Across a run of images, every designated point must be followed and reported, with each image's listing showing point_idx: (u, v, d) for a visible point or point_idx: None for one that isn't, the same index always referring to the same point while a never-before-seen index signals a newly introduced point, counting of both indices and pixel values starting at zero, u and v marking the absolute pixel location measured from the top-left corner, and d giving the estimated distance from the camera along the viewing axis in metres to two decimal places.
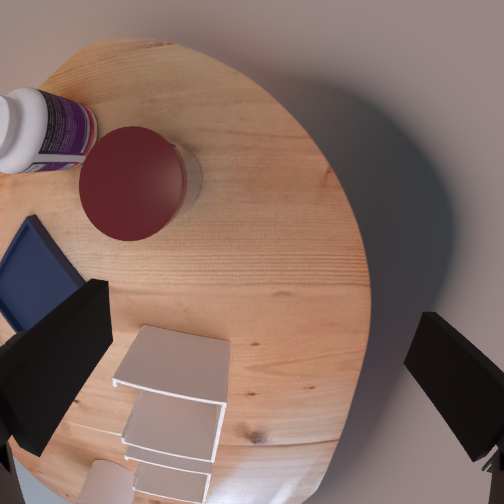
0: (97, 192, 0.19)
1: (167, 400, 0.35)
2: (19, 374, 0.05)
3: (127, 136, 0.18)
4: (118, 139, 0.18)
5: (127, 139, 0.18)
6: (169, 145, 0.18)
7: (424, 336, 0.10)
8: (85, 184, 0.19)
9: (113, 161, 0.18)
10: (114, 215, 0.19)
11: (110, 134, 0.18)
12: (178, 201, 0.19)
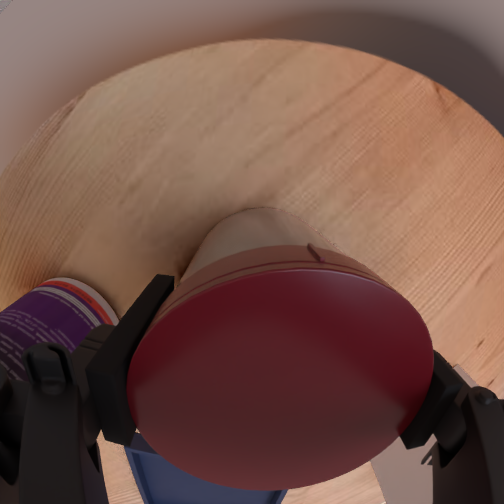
0: (234, 463, 0.07)
1: None
2: (124, 364, 0.06)
3: (185, 343, 0.06)
4: (170, 364, 0.06)
5: (193, 349, 0.06)
6: (332, 272, 0.05)
7: None
8: (194, 465, 0.07)
9: (211, 410, 0.06)
10: (306, 465, 0.07)
11: (137, 366, 0.06)
12: (432, 355, 0.06)
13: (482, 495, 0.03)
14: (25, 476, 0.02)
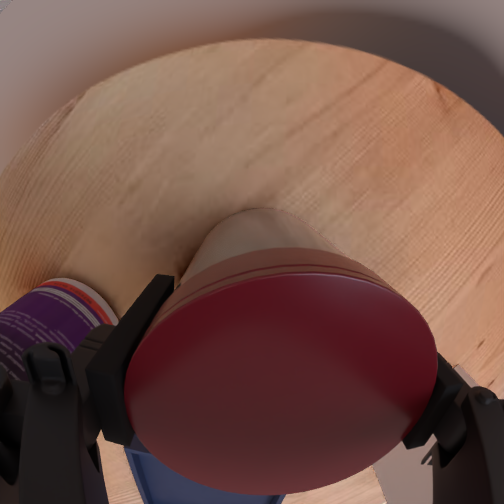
0: (357, 445, 0.07)
1: None
2: (124, 364, 0.06)
3: (205, 475, 0.07)
4: (226, 481, 0.07)
5: (209, 472, 0.07)
6: (128, 413, 0.06)
7: None
8: (358, 464, 0.07)
9: (271, 467, 0.07)
10: (382, 391, 0.06)
11: (234, 491, 0.07)
12: (197, 300, 0.05)
13: (482, 495, 0.03)
14: (25, 476, 0.02)
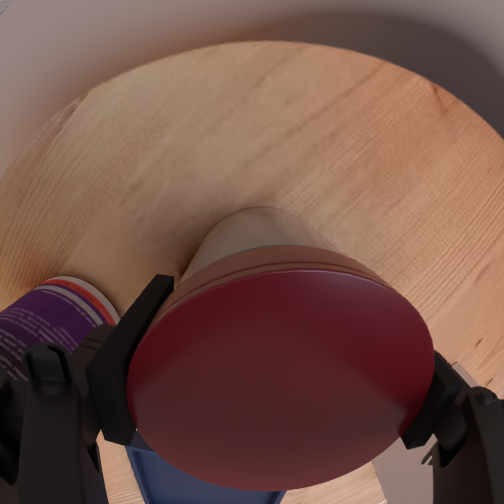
0: (346, 351, 0.06)
1: None
2: (124, 364, 0.06)
3: (365, 453, 0.07)
4: (380, 439, 0.07)
5: (361, 452, 0.07)
6: (279, 489, 0.07)
7: None
8: (397, 329, 0.06)
9: (359, 419, 0.07)
10: (243, 357, 0.06)
11: (403, 429, 0.07)
12: (170, 463, 0.07)
13: (482, 495, 0.03)
14: (25, 476, 0.02)
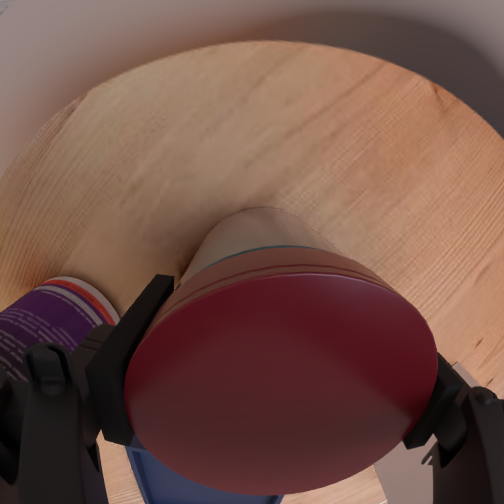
0: (192, 404, 0.06)
1: None
2: (124, 364, 0.06)
3: (387, 329, 0.06)
4: (361, 320, 0.05)
5: (381, 337, 0.06)
6: (430, 394, 0.06)
7: None
8: (162, 365, 0.06)
9: (300, 369, 0.06)
10: (209, 456, 0.07)
11: (351, 287, 0.05)
12: (353, 474, 0.07)
13: (482, 495, 0.03)
14: (25, 476, 0.02)
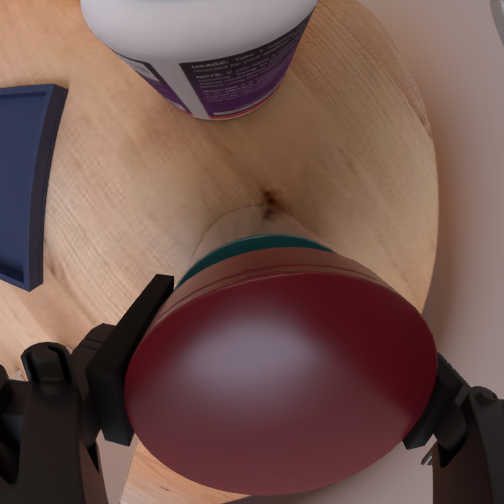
0: (192, 403, 0.06)
1: None
2: (124, 364, 0.06)
3: (387, 329, 0.06)
4: (361, 320, 0.05)
5: (381, 337, 0.06)
6: (430, 394, 0.06)
7: None
8: (162, 364, 0.06)
9: (300, 369, 0.06)
10: (209, 455, 0.07)
11: (351, 287, 0.05)
12: (353, 474, 0.07)
13: (482, 495, 0.03)
14: (25, 476, 0.02)
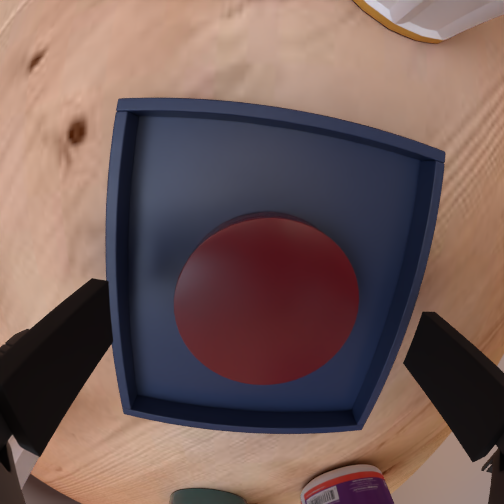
0: (214, 294, 0.12)
1: None
2: (19, 374, 0.05)
3: (316, 250, 0.12)
4: (301, 243, 0.12)
5: (314, 254, 0.12)
6: (357, 302, 0.13)
7: (424, 336, 0.10)
8: (200, 268, 0.12)
9: (271, 270, 0.12)
10: (221, 338, 0.13)
11: (294, 225, 0.12)
12: (316, 369, 0.13)
13: None
14: None
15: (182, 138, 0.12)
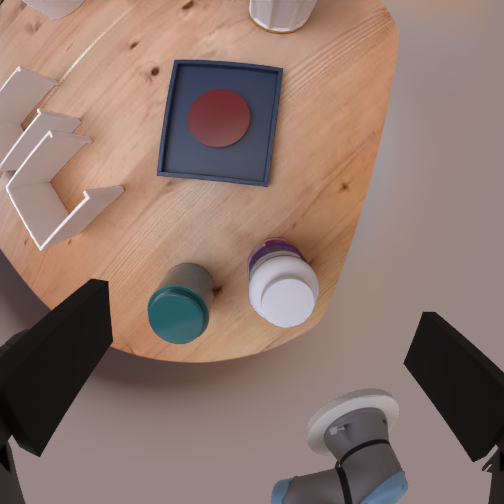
0: (201, 111, 0.35)
1: (68, 154, 0.36)
2: (19, 374, 0.05)
3: (233, 97, 0.35)
4: (228, 95, 0.35)
5: (232, 98, 0.35)
6: (249, 114, 0.36)
7: (424, 336, 0.10)
8: (197, 103, 0.35)
9: (219, 103, 0.35)
10: (202, 127, 0.36)
11: (226, 90, 0.34)
12: (237, 140, 0.36)
13: None
14: None
15: (194, 72, 0.35)
